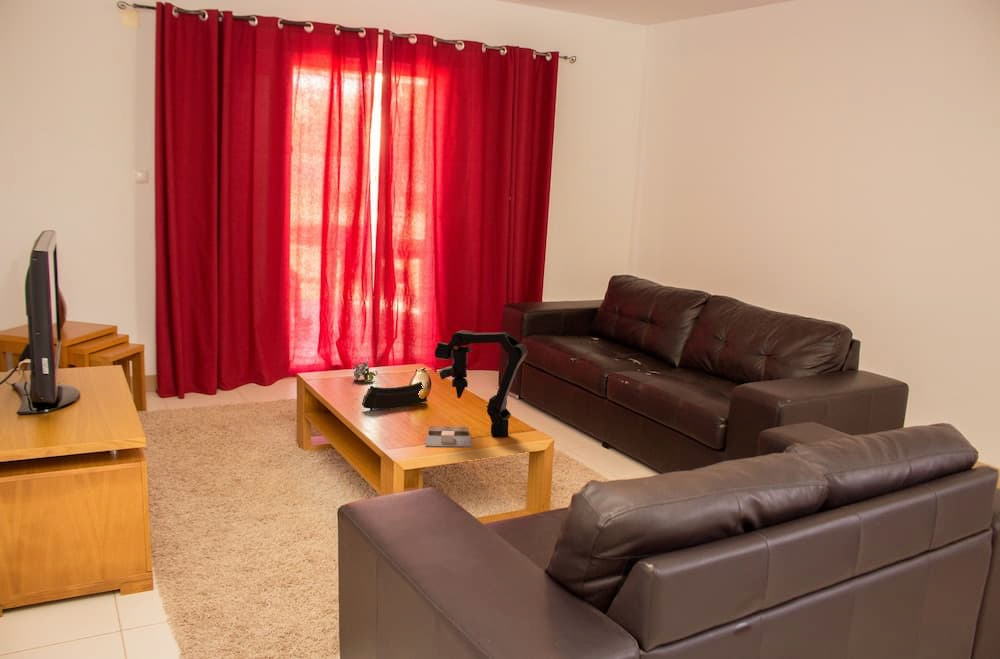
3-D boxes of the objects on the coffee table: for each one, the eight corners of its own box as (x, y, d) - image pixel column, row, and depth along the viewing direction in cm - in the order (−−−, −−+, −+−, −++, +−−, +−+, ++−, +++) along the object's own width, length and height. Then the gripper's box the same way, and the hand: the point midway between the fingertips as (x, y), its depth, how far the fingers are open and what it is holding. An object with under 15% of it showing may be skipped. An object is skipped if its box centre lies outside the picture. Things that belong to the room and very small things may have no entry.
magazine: (429, 382, 374) (370, 370, 357) (432, 384, 371) (373, 372, 354) (419, 418, 375) (360, 407, 358) (422, 420, 372) (362, 410, 355)
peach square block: (454, 438, 326) (454, 431, 326) (453, 442, 321) (453, 435, 321) (442, 437, 326) (442, 430, 326) (440, 442, 322) (440, 434, 321)
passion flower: (356, 391, 406) (348, 369, 409) (377, 385, 410) (369, 363, 413) (360, 383, 396) (352, 361, 399) (381, 377, 401) (373, 355, 404)
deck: (467, 431, 337) (468, 426, 337) (468, 436, 331) (468, 431, 331) (428, 430, 336) (429, 426, 335) (428, 435, 330) (428, 430, 330)
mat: (470, 436, 331) (470, 435, 331) (471, 447, 319) (471, 446, 319) (426, 435, 330) (426, 434, 330) (425, 446, 317) (425, 445, 317)
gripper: (440, 355, 343) (439, 391, 346) (440, 366, 325) (439, 404, 328) (466, 356, 344) (465, 391, 347) (468, 367, 326) (466, 404, 329)
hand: (458, 397), depth 338 cm, fingers closed
